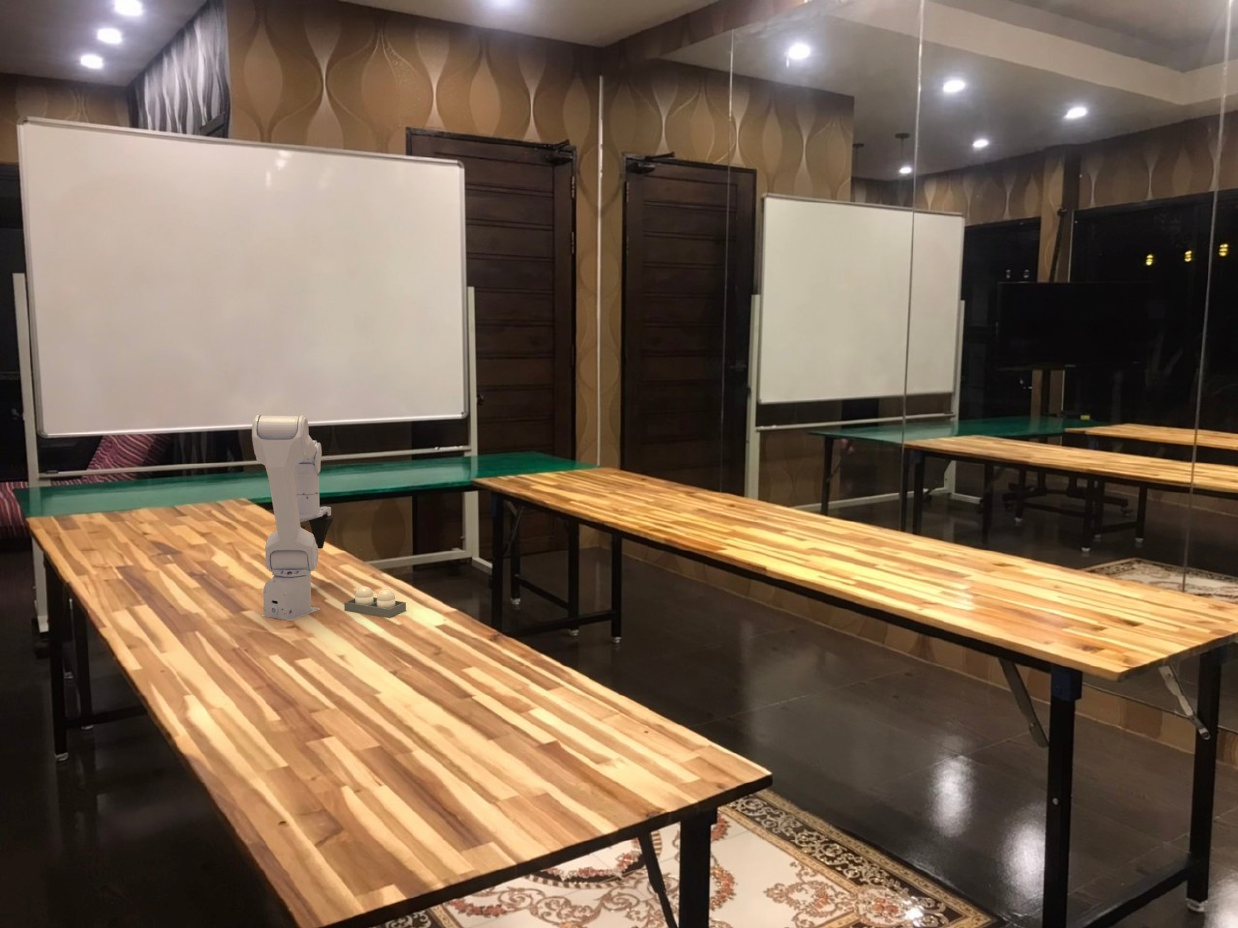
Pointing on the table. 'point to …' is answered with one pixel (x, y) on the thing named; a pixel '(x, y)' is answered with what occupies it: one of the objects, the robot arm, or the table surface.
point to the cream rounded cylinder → (386, 599)
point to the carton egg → (364, 596)
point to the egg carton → (375, 608)
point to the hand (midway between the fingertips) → (307, 551)
